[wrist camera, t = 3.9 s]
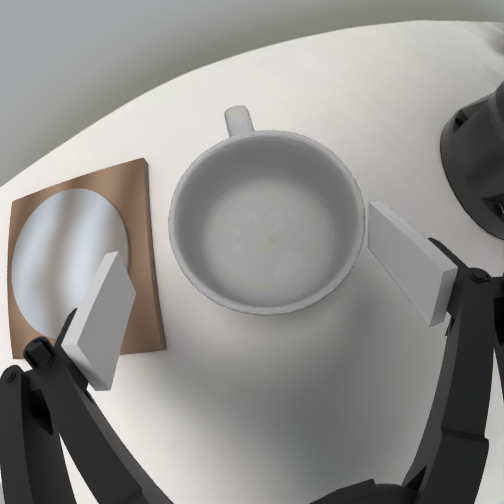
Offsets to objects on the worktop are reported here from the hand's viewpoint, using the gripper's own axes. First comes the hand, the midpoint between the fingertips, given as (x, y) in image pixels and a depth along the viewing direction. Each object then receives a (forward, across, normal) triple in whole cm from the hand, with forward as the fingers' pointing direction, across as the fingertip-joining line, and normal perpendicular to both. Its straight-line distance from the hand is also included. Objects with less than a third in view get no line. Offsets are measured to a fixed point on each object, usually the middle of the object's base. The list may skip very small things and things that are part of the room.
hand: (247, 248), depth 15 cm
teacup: (+8, +2, -3) cm, 9 cm away
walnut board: (+8, -15, -3) cm, 18 cm away
